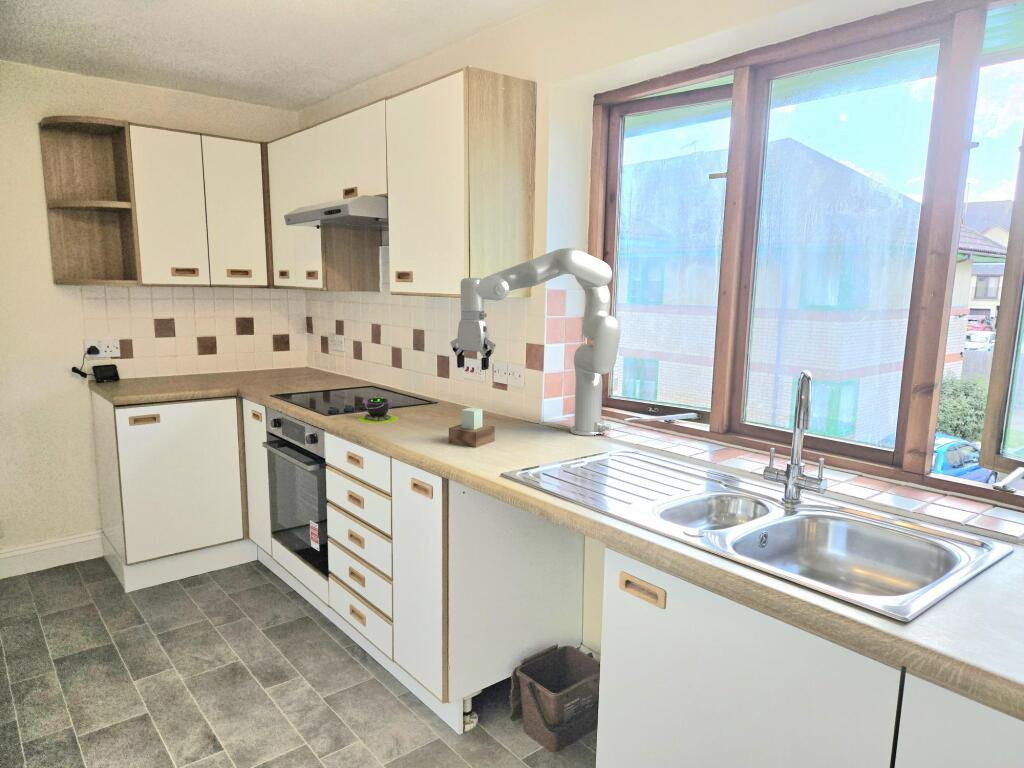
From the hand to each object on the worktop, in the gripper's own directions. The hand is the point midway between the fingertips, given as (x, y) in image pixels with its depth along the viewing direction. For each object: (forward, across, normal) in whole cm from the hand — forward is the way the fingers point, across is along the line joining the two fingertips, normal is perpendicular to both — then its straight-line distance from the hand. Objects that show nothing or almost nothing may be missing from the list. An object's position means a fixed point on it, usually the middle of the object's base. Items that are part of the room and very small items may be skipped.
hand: (472, 368), depth 219 cm
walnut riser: (+25, 0, 0) cm, 25 cm away
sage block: (+20, 0, 0) cm, 20 cm away
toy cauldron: (+25, +51, -8) cm, 57 cm away
